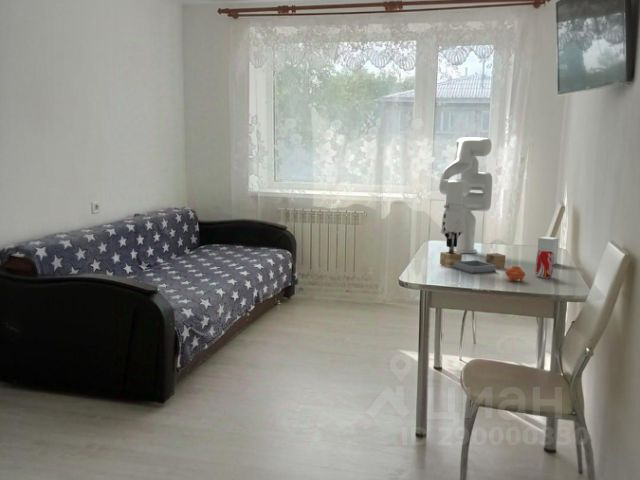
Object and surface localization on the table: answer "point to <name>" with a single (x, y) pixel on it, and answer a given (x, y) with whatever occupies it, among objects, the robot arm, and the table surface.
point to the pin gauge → (451, 249)
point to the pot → (515, 273)
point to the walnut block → (496, 260)
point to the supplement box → (549, 245)
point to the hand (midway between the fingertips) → (451, 246)
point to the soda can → (544, 263)
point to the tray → (475, 266)
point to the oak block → (449, 258)
